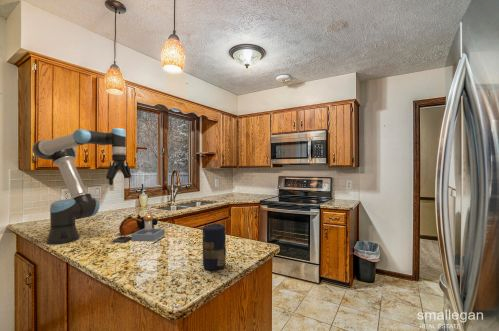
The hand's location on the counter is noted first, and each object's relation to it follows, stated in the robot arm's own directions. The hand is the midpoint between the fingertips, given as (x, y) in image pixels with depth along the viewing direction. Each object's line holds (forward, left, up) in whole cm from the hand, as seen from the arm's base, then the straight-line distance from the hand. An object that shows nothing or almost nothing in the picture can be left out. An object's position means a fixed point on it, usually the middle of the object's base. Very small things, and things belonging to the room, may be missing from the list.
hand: (119, 189), depth 149 cm
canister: (+68, -39, -29) cm, 84 cm away
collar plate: (+8, -10, -29) cm, 31 cm away
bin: (+20, -4, -29) cm, 36 cm away
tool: (+7, +9, -29) cm, 31 cm away
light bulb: (+20, -4, -28) cm, 35 cm away
